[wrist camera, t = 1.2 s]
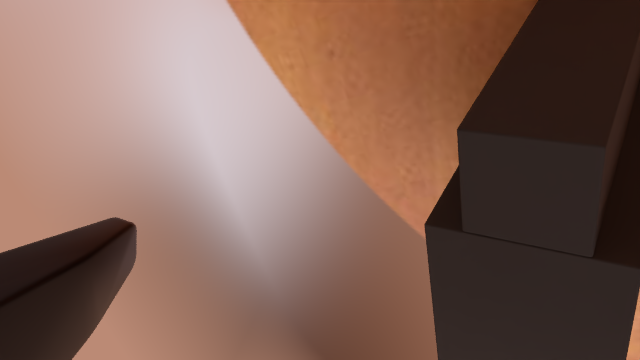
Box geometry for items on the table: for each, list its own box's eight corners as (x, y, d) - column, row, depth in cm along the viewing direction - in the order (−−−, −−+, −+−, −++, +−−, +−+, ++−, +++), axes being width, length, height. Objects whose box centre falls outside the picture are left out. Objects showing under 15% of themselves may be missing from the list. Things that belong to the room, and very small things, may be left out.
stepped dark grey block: (649, 221, 22) (613, 426, 16) (513, 198, 24) (438, 368, 18) (694, -18, 17) (664, 153, 11) (516, -17, 19) (413, 123, 13)
